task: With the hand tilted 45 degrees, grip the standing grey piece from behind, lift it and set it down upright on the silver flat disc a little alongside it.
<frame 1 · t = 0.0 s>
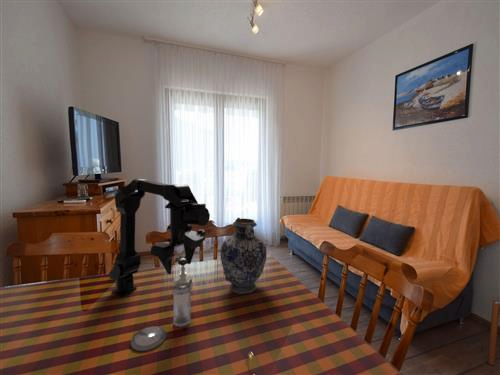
hand: (179, 268, 77), 15 cm above the table, tool pointing down, fingers open, 9 cm apart
silver flat disc: (148, 339, 65), on the table
valve: (183, 287, 94), on the table
decorative vase: (243, 288, 94), on the table
grey piece: (182, 321, 72), on the table
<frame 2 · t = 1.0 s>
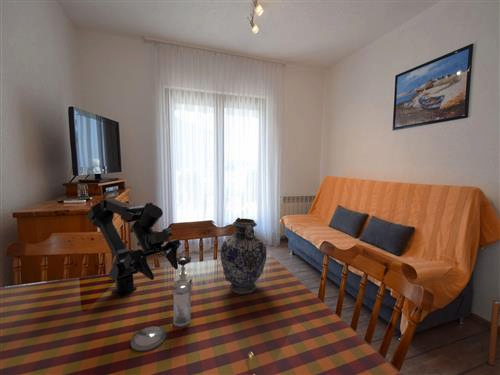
hand: (165, 273, 76), 13 cm above the table, tool tilted 45°, fingers open, 9 cm apart
nothing on the table moved.
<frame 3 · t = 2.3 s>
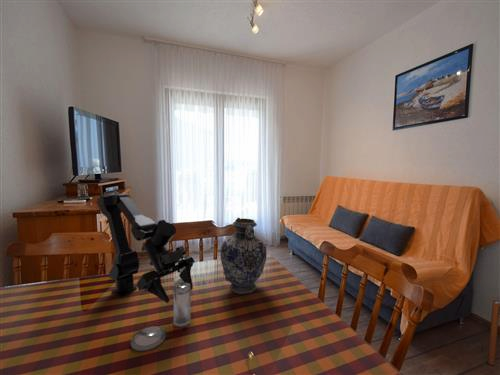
hand: (180, 295, 72), 8 cm above the table, tool tilted 45°, fingers open, 9 cm apart
nothing on the table moved.
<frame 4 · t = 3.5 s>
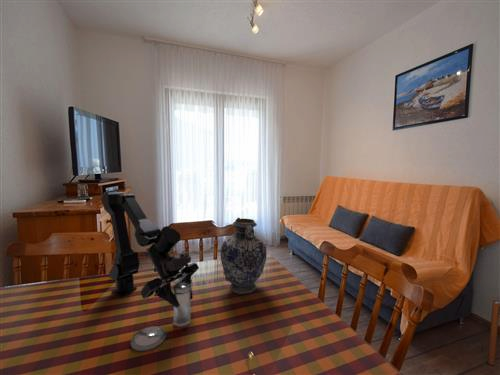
hand: (185, 302, 71), 7 cm above the table, tool tilted 45°, fingers closed on grey piece, 5 cm apart
grey piece: (182, 321, 72), on the table, touching gripper
everything else where it was.
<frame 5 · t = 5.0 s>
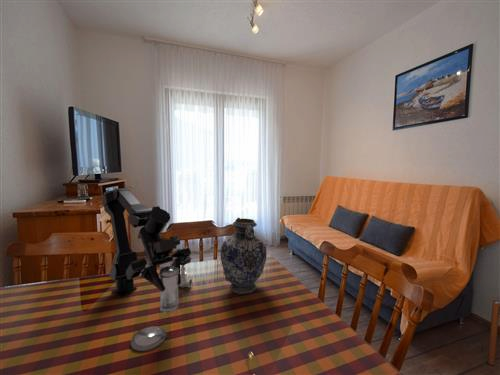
hand: (171, 287, 67), 13 cm above the table, tool tilted 45°, fingers closed on grey piece, 5 cm apart
grey piece: (169, 307, 68), point 7 cm above the table, touching gripper
everything else where it was.
when the fingers open (8 cm above the table, at t = 6.7 s): grey piece stays where it is, resting on silver flat disc.
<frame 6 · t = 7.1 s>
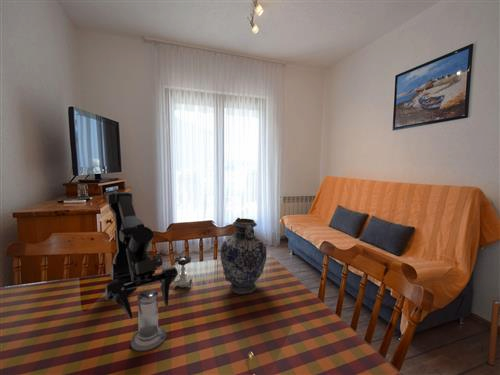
hand: (149, 312, 63), 9 cm above the table, tool tilted 45°, fingers open, 9 cm apart
grey piece: (148, 334, 65), point 1 cm above the table, touching silver flat disc
everything else where it was.
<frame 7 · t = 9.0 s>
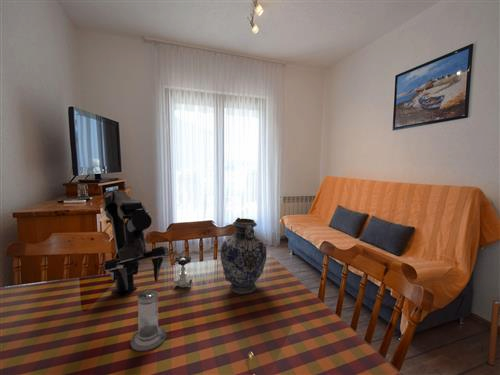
hand: (141, 285, 73), 11 cm above the table, tool tilted 25°, fingers open, 9 cm apart
nothing on the table moved.
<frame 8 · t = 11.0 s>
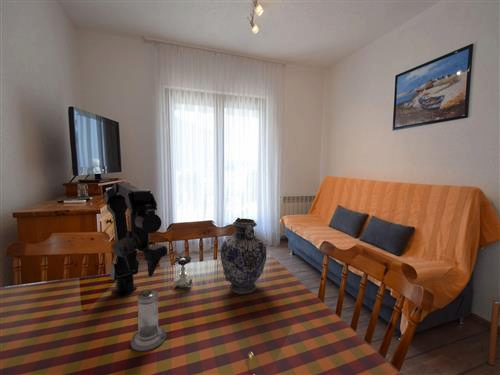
hand: (140, 273, 77), 13 cm above the table, tool pointing down, fingers open, 9 cm apart
nothing on the table moved.
at the end: grey piece 0.1 cm from the silver flat disc (horizontally); grey piece point 1.2 cm above the table; grey piece tilted 0° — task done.
